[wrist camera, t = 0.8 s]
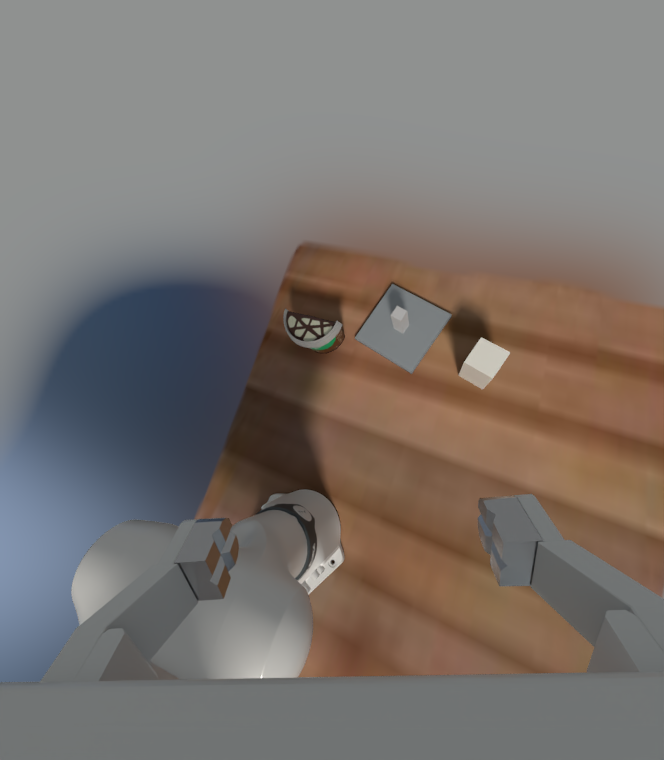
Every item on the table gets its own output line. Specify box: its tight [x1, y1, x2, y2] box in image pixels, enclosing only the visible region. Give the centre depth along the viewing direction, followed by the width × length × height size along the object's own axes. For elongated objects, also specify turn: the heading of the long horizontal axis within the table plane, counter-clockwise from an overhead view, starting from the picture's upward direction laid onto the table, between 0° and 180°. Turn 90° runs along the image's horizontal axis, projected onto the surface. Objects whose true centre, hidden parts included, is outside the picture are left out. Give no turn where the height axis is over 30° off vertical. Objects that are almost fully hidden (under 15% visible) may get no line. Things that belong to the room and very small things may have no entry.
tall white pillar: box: [459, 337, 510, 389], centre depth 58 cm, size 5×5×10 cm
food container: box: [284, 309, 345, 353], centre depth 68 cm, size 12×6×10 cm, turn 72°
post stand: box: [355, 284, 452, 374], centre depth 64 cm, size 14×14×8 cm
